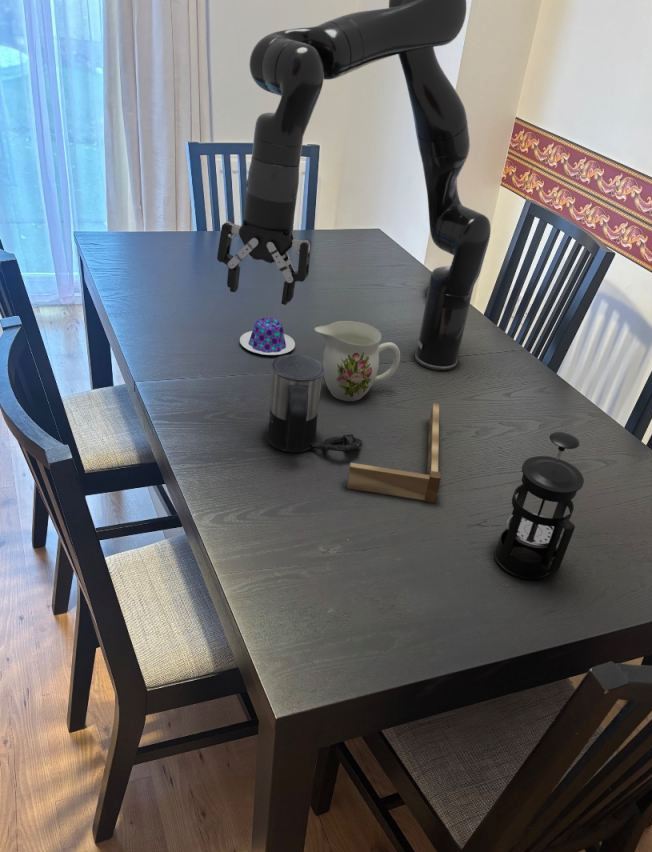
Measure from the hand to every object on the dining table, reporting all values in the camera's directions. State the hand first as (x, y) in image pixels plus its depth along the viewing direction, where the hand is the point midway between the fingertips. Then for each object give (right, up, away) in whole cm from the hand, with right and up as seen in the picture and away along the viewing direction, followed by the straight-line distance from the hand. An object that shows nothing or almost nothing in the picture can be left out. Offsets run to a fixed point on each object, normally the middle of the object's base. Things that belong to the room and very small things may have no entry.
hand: (259, 296), depth 126 cm
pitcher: (+15, -11, +33) cm, 38 cm away
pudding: (-4, +2, +45) cm, 45 cm away
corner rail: (+23, -24, +17) cm, 37 cm away
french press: (+42, -43, -3) cm, 60 cm away
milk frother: (+8, -22, +16) cm, 29 cm away
